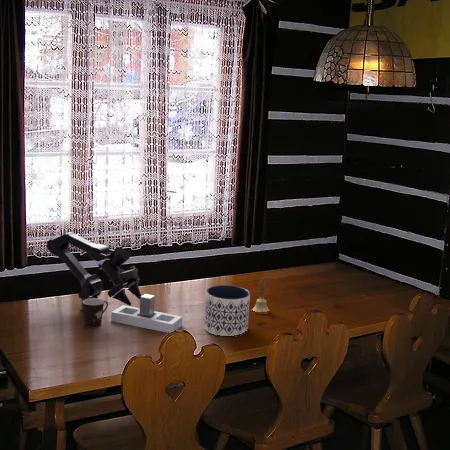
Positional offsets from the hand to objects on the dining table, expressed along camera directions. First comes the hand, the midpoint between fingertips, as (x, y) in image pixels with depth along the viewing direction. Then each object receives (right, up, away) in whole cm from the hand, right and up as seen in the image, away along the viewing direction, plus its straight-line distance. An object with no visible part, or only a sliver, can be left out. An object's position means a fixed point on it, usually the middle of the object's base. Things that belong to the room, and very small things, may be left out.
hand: (135, 301), depth 290 cm
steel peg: (+4, -9, 0) cm, 10 cm away
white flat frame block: (+4, -9, 0) cm, 10 cm away
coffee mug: (-16, -9, -4) cm, 19 cm away
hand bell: (+53, -7, +23) cm, 59 cm away
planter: (+38, -12, -1) cm, 39 cm away
